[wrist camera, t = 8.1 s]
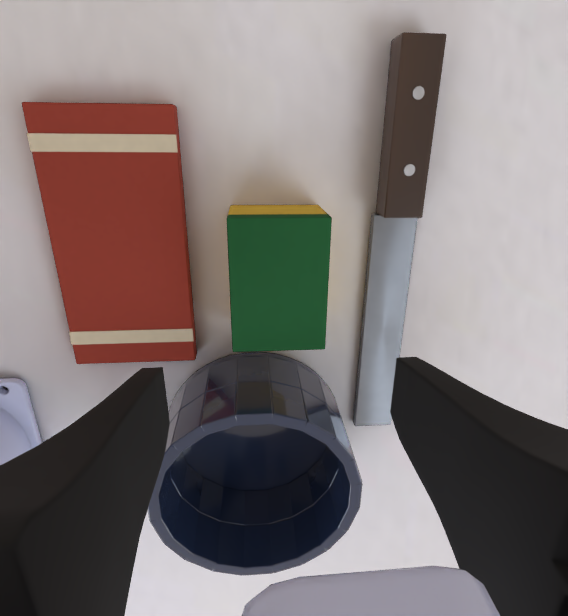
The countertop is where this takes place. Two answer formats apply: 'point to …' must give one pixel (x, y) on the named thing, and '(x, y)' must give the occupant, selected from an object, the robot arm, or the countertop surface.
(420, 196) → the knife
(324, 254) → the sponge
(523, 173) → the countertop surface
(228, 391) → the pot
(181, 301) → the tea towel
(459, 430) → the robot arm
